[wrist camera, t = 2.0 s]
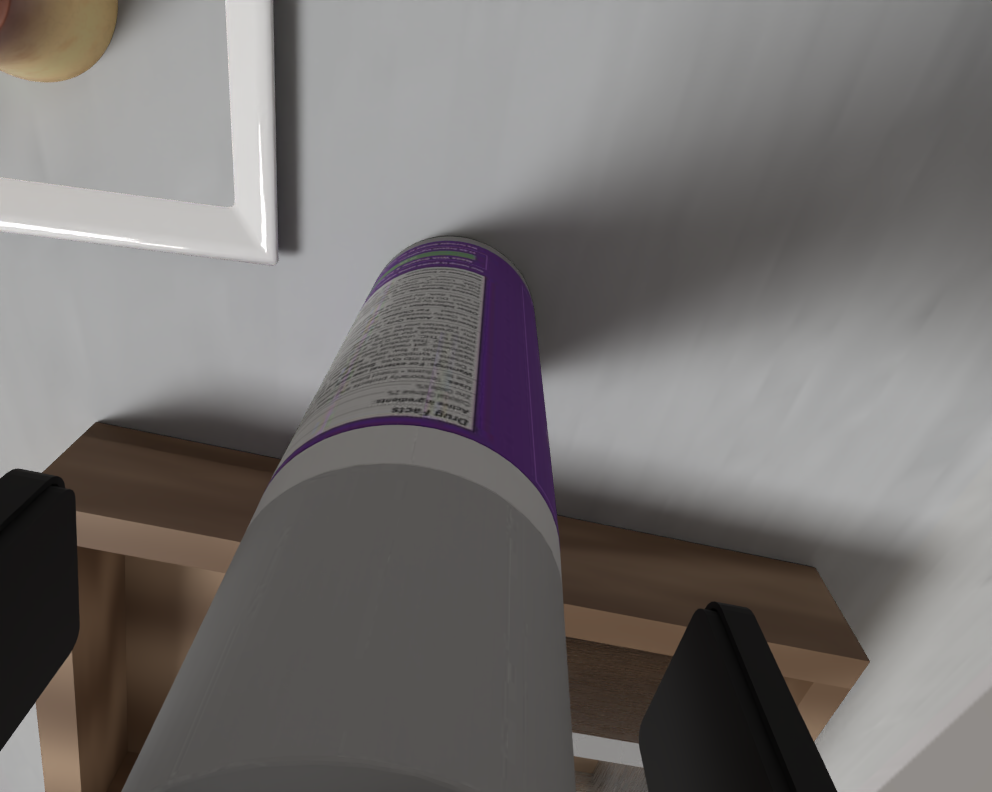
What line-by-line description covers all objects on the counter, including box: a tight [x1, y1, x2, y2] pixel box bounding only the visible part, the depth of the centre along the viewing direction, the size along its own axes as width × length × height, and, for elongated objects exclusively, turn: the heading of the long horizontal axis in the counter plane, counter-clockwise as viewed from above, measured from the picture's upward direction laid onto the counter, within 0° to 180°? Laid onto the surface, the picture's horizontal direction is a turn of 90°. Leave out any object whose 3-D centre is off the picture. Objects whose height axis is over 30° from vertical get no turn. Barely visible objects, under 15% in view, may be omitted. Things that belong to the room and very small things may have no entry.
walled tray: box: [36, 422, 870, 792], centre depth 24 cm, size 16×24×4 cm, turn 76°
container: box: [121, 236, 576, 792], centre depth 13 cm, size 5×5×15 cm
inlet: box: [566, 636, 673, 792], centre depth 24 cm, size 9×9×4 cm
